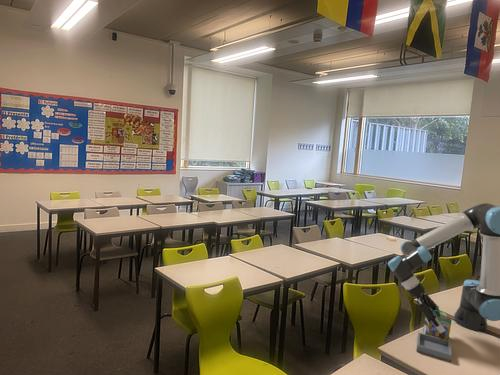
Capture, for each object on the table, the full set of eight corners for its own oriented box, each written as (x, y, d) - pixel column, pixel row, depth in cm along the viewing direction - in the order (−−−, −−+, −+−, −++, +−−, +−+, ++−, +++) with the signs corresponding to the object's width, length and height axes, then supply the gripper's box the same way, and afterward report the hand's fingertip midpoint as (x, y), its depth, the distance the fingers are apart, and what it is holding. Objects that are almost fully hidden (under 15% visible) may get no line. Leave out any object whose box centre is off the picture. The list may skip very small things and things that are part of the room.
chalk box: (448, 344, 170) (453, 313, 168) (427, 340, 172) (432, 310, 170) (442, 334, 179) (447, 305, 177) (422, 330, 181) (426, 302, 179)
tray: (448, 347, 167) (449, 341, 167) (450, 361, 155) (451, 355, 155) (417, 338, 173) (418, 332, 172) (416, 351, 161) (417, 345, 160)
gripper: (409, 282, 190) (438, 320, 185) (402, 297, 170) (434, 340, 165) (422, 275, 187) (451, 314, 182) (416, 289, 167) (449, 333, 161)
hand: (443, 326), depth 173 cm, fingers closed on chalk box, 11 cm apart
